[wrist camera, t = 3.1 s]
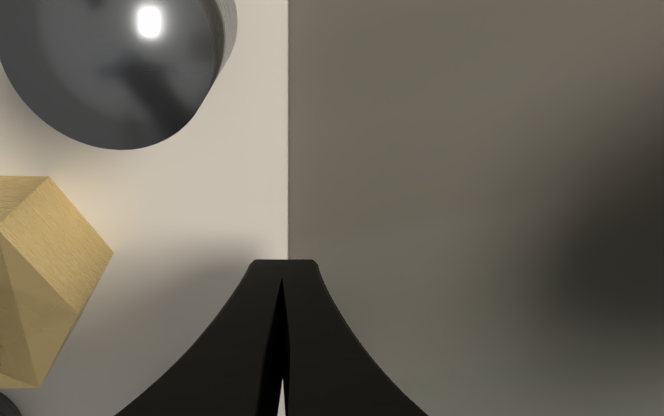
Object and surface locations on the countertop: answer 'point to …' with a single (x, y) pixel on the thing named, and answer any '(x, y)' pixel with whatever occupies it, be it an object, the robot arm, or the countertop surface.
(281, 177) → the plate
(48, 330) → the faceted gold polyhedron
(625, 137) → the countertop surface
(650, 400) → the countertop surface
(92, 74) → the spacers
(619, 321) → the countertop surface
